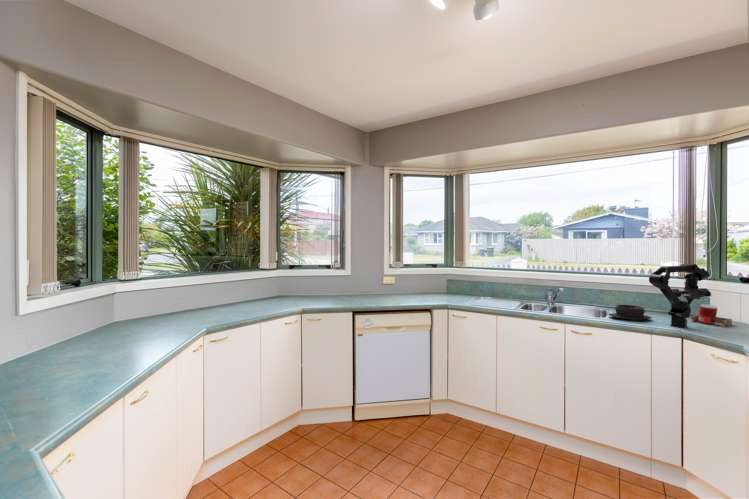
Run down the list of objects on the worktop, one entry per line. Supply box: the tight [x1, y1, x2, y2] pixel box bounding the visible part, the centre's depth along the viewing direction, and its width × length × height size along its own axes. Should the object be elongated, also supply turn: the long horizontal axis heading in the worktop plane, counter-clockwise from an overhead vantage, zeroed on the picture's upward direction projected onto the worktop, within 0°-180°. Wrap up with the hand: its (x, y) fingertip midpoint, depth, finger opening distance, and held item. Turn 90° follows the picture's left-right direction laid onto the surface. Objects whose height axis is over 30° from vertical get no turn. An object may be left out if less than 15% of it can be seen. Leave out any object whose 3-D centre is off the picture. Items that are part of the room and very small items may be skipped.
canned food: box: [697, 303, 718, 325], centre depth 222 cm, size 8×8×11 cm
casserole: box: [608, 304, 653, 321], centre depth 236 cm, size 25×19×8 cm
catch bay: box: [691, 314, 733, 328], centre depth 223 cm, size 12×16×4 cm
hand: (688, 304), depth 222 cm, fingers closed
